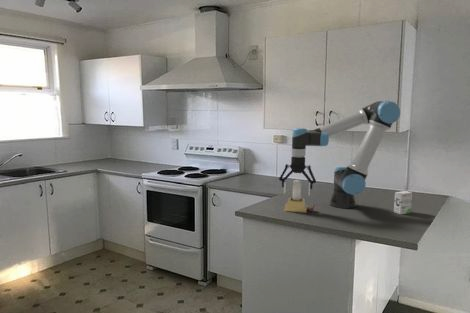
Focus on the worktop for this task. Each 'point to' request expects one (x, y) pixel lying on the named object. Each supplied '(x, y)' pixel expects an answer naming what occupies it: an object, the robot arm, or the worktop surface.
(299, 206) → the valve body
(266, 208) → the worktop surface
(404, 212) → the ink box
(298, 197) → the pipe stub
